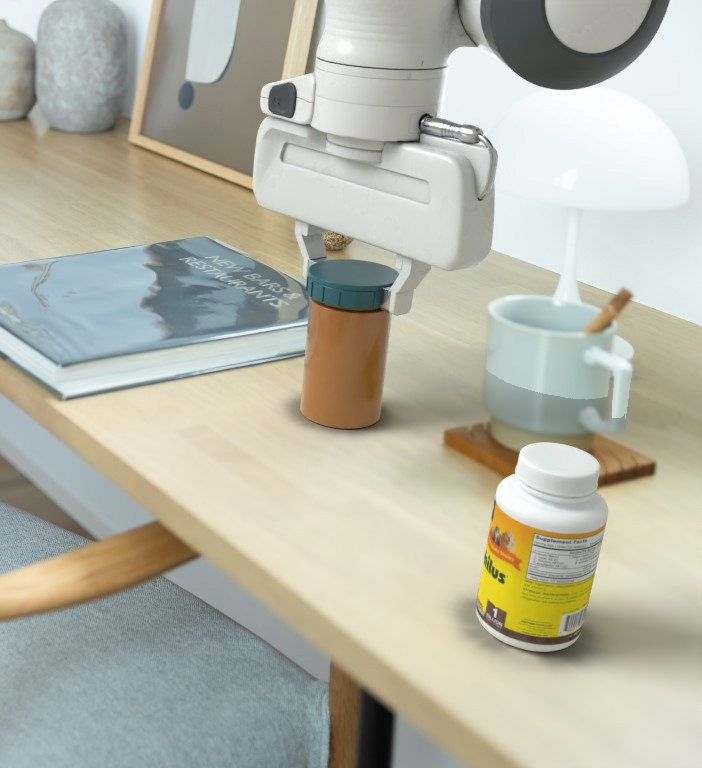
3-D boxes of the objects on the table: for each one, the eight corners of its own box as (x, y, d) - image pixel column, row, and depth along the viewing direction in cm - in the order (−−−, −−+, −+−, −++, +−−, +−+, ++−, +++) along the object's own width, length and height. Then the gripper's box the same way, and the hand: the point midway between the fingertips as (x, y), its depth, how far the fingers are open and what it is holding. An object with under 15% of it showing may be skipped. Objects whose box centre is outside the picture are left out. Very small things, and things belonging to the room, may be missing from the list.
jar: (367, 395, 92) (382, 268, 88) (390, 428, 86) (406, 294, 82) (292, 396, 91) (303, 269, 87) (310, 429, 86) (322, 294, 82)
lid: (313, 276, 89) (315, 255, 88) (401, 286, 87) (404, 264, 87) (300, 303, 83) (302, 280, 82) (394, 313, 81) (397, 290, 81)
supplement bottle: (469, 591, 67) (499, 428, 63) (572, 605, 66) (608, 441, 62) (476, 648, 61) (508, 475, 57) (587, 664, 61) (627, 490, 57)
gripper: (532, 127, 74) (497, 332, 79) (308, 79, 89) (291, 254, 95) (466, 135, 71) (434, 349, 76) (245, 84, 86) (231, 265, 91)
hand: (353, 296), depth 85 cm, fingers closed on lid, 6 cm apart
